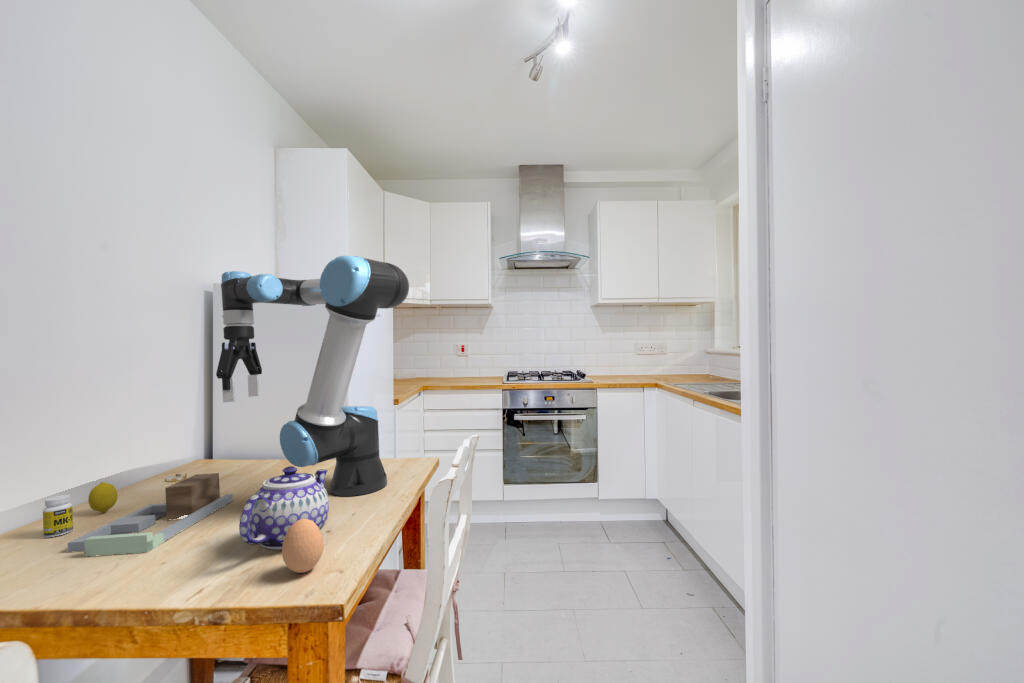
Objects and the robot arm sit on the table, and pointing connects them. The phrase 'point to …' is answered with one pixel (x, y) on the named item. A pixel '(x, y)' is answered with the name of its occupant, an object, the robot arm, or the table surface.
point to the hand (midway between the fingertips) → (242, 399)
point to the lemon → (103, 497)
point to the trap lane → (121, 542)
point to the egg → (302, 546)
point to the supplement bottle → (57, 516)
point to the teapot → (284, 507)
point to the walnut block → (191, 494)
